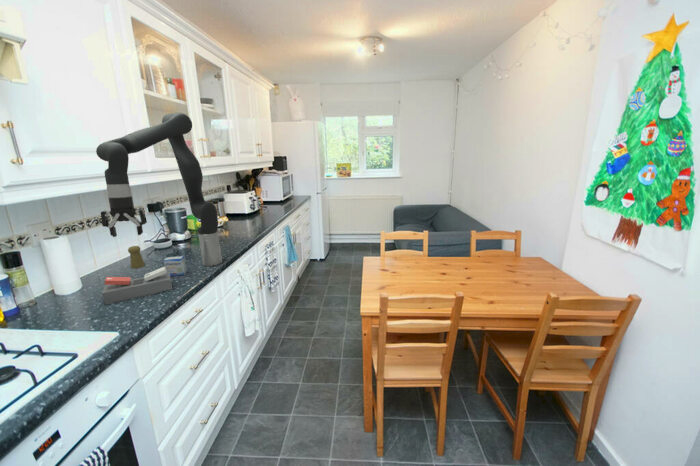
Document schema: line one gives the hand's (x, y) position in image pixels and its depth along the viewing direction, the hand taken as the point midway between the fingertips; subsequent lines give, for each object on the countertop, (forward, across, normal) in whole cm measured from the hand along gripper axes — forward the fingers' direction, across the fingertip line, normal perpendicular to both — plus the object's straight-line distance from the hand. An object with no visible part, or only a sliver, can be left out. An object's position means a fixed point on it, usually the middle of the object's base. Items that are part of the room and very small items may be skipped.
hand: (127, 235), depth 118 cm
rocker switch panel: (+26, -1, 0) cm, 26 cm away
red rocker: (+19, +6, +1) cm, 19 cm away
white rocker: (+18, -7, -2) cm, 20 cm away
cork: (+25, +10, -36) cm, 45 cm away
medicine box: (+25, -12, -17) cm, 32 cm away
